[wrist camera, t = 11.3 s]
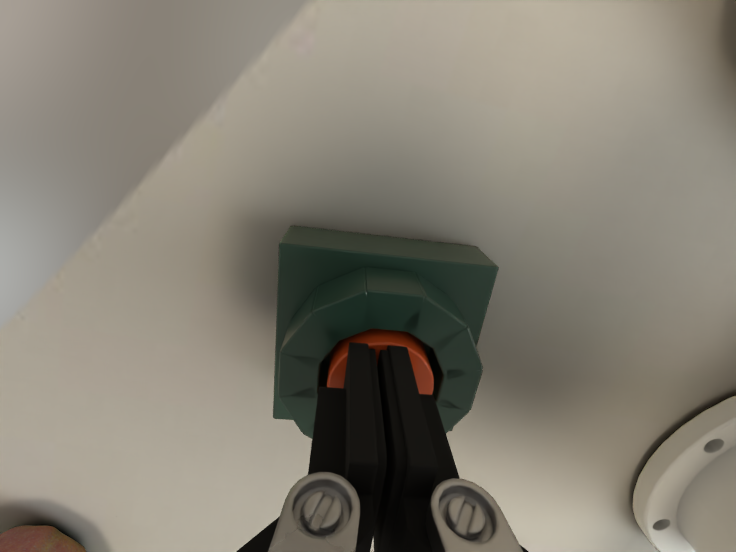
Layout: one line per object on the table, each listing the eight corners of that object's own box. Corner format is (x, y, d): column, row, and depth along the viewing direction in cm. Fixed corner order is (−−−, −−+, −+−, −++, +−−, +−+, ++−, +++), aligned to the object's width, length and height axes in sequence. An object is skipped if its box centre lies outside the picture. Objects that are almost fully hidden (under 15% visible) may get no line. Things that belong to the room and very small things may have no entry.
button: (334, 308, 11) (331, 338, 10) (432, 317, 12) (444, 348, 10) (326, 388, 13) (322, 426, 11) (414, 395, 13) (423, 433, 11)
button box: (290, 224, 13) (265, 263, 9) (477, 246, 13) (524, 290, 10) (283, 381, 15) (261, 460, 12) (440, 393, 16) (465, 472, 12)
